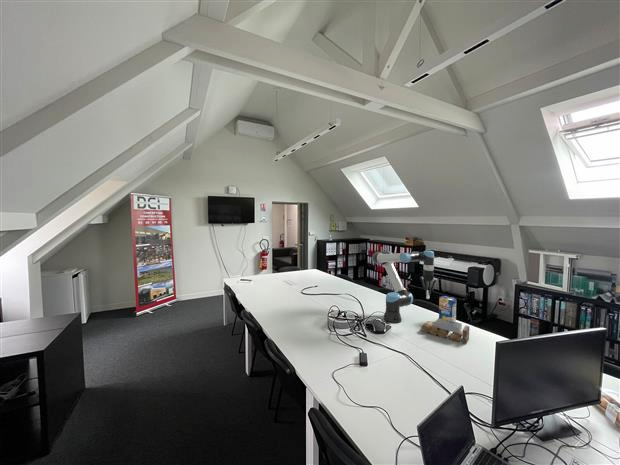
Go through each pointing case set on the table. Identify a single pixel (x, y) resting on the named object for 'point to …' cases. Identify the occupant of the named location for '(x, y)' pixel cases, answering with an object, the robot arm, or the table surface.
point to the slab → (448, 325)
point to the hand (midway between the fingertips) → (427, 298)
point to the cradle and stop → (463, 335)
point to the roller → (456, 336)
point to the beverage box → (447, 308)
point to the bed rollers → (434, 329)
